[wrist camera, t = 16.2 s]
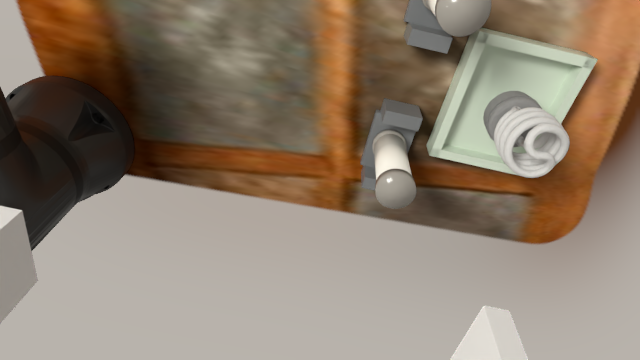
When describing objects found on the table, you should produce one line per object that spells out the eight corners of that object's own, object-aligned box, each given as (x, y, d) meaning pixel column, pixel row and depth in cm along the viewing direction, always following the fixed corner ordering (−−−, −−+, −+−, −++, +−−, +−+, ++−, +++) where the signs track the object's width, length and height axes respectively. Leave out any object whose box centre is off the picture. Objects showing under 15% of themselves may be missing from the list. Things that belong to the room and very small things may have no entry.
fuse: (368, 154, 50) (370, 203, 42) (377, 125, 48) (382, 171, 39) (399, 161, 50) (409, 212, 42) (410, 133, 48) (422, 180, 40)
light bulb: (534, 114, 46) (585, 170, 36) (483, 135, 48) (518, 194, 38) (520, 69, 44) (570, 116, 33) (467, 93, 45) (499, 144, 35)
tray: (426, 145, 50) (429, 155, 48) (473, 25, 42) (479, 31, 40) (522, 167, 50) (530, 177, 48) (585, 52, 43) (597, 59, 41)
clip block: (357, 171, 52) (357, 186, 49) (432, -77, 38) (439, -76, 35) (396, 179, 53) (398, 195, 50) (485, -64, 38) (496, -62, 35)
